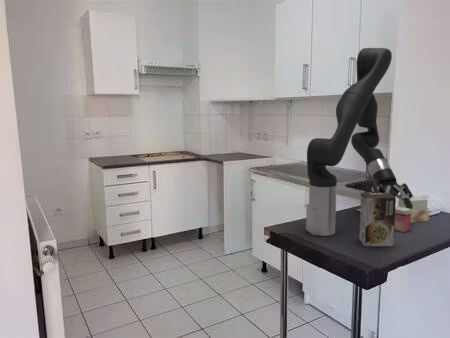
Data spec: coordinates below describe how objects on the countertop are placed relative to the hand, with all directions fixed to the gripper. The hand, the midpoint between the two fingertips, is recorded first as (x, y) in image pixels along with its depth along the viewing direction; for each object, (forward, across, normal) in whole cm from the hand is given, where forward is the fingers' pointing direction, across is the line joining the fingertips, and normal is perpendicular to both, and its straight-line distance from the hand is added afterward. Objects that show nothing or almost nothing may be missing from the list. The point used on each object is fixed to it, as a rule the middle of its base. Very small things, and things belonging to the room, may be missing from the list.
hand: (400, 210), depth 127 cm
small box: (+6, 0, +4) cm, 7 cm away
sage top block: (-5, +13, +8) cm, 16 cm away
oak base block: (-1, +13, +12) cm, 17 cm away
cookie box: (+12, -16, -2) cm, 20 cm away
